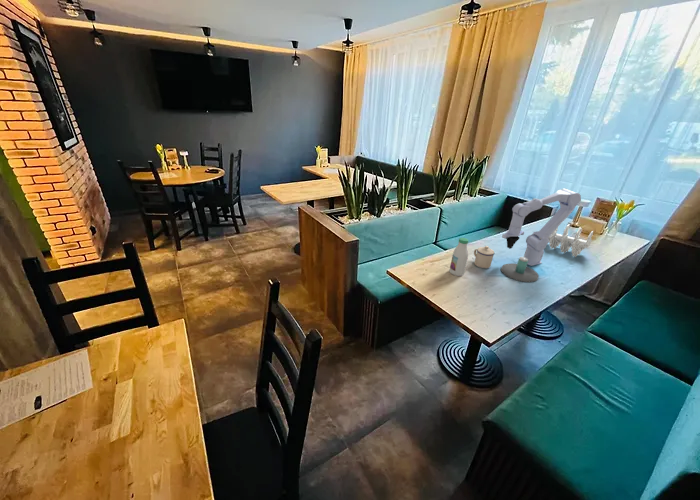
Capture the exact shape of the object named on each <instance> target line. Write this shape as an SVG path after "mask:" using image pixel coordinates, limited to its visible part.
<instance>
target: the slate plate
mask: <svg viewBox="0 0 700 500" xmlns="http://www.w3.org/2000/svg"><path fill="white" fill-rule="evenodd" d="M516 266H517V263H504V264H503V265H502V266H501V267H500V271H501V273H502V274H503V275H505V276H506V277H508V278H509V279H511V280H515V281H518V282H522V283H534V282H537V281H538V279H539V274H538V272H537V271H536V270H534V269H532V268H531V267H529V266H526V269H525V272H524V273H523V274H520V273H517V272H516V271H515V269H516Z"/></svg>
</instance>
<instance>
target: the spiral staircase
mask: <svg viewBox="0 0 700 500" xmlns="http://www.w3.org/2000/svg"><path fill="white" fill-rule="evenodd" d="M570 225H571V224H570V223H569V224H567V225H566V227H565V228H564V229H563V233H562V234H559V233H557V232H558V231H559V230H558V229H559V226H558V227H557V228H556V229H555V230H554V231H553V233H552V234H551V235H550V236H549V237H548V238H549V243H548V244H549V247H550V250H551V249H552V250H555V249H556V248H557V247H559V246H560V252H561V253H564V254H565V253H566V252H567V253H569V250H570V248H571V254H572V255H571V256H572V257H574V258H577V256H578V255H579V256H580V254H581V253H582V251H584V250H585V249H589V248H590V246H591V243H592V237H593V235H594V230H592V231H591V232H589V234H588V236H587V239H586V240H585V239H580V237H581V236H580V234H581V233H582V229H583V228H582V227H580V228H578V230H577V232H575V235H574V237H571V236H569V229H570V227H571V226H570ZM540 239H541V238H540Z"/></svg>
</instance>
